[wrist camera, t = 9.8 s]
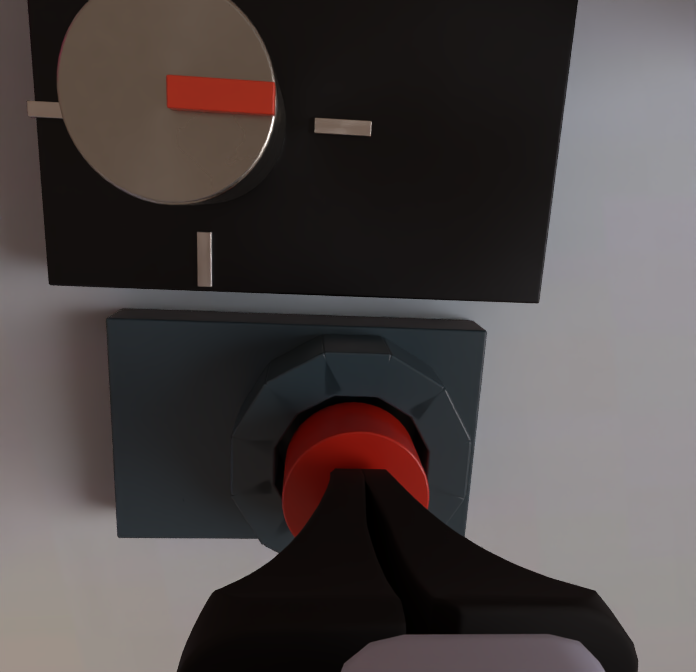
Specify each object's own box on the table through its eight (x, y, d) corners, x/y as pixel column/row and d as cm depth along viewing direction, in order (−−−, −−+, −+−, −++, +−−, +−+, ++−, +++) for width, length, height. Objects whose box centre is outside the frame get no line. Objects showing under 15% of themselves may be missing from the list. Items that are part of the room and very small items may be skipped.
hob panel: (82, 272, 17) (40, 286, 15) (63, -47, 15) (10, -98, 13) (507, 289, 18) (542, 304, 15) (542, -9, 16) (587, -50, 13)
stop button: (283, 520, 16) (280, 565, 14) (287, 399, 15) (283, 430, 13) (410, 521, 16) (423, 566, 14) (419, 402, 16) (435, 433, 14)
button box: (131, 512, 19) (92, 581, 16) (122, 307, 18) (76, 334, 14) (453, 515, 20) (482, 581, 17) (473, 320, 18) (510, 348, 15)
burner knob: (123, 198, 14) (55, 200, 10) (115, 22, 13) (38, -47, 10) (283, 207, 15) (274, 211, 11) (288, 35, 14) (279, -26, 10)
